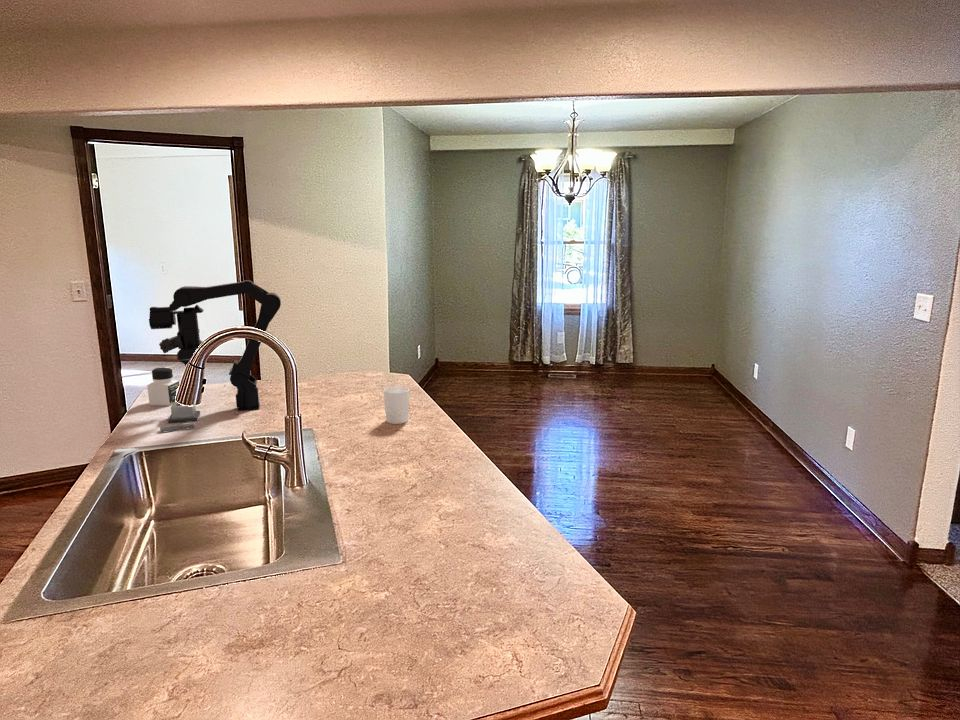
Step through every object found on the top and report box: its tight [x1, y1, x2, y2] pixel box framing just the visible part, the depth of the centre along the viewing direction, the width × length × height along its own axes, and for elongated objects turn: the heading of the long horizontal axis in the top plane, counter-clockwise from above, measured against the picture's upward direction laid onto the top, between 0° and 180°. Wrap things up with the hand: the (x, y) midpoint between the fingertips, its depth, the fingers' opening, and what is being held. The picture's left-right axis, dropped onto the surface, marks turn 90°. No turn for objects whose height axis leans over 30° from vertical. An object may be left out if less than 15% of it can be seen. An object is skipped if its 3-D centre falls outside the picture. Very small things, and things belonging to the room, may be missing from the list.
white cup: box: [383, 385, 410, 425], centre depth 185 cm, size 8×8×10 cm
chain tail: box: [159, 422, 195, 433], centre depth 176 cm, size 9×2×1 cm, turn 116°
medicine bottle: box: [146, 366, 180, 407], centre depth 202 cm, size 7×7×12 cm
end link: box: [170, 402, 197, 419], centre depth 186 cm, size 6×6×4 cm
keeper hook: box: [167, 405, 201, 424], centre depth 186 cm, size 8×8×5 cm
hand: (193, 376), depth 191 cm, fingers open, 9 cm apart
